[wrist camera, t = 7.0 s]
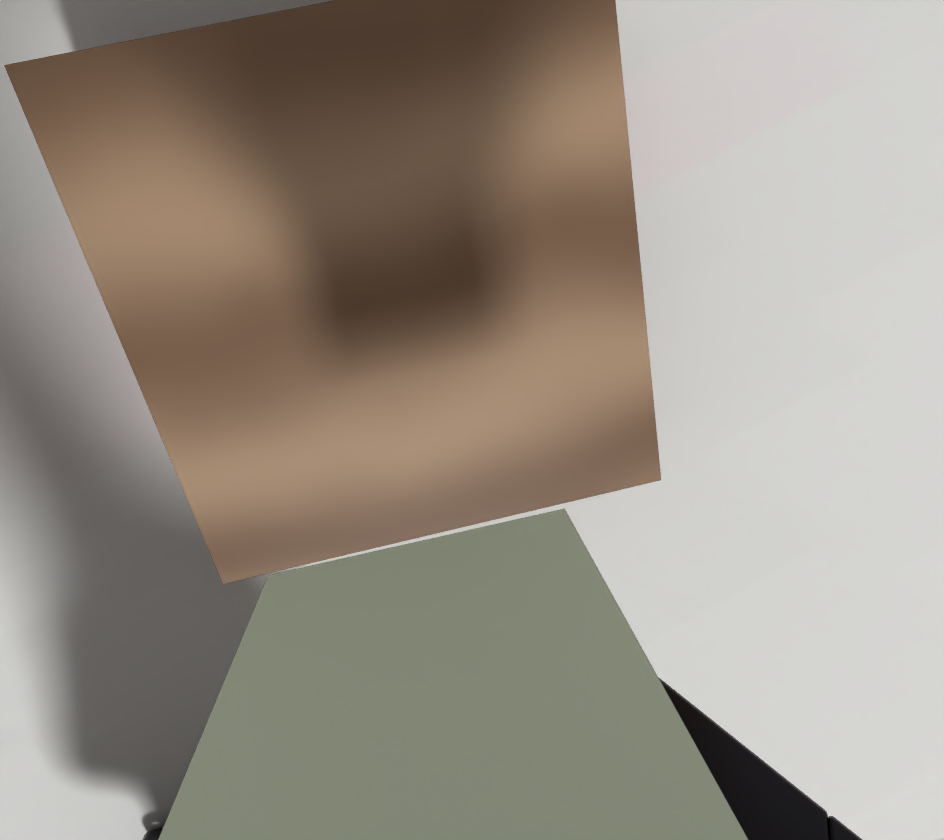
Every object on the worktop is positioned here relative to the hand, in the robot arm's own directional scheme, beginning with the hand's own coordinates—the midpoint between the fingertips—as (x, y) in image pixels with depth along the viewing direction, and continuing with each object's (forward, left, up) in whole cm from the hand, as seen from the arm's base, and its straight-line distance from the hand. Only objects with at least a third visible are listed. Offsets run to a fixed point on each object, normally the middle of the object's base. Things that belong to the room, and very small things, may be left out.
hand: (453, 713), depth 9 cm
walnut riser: (+5, 0, -12) cm, 13 cm away
